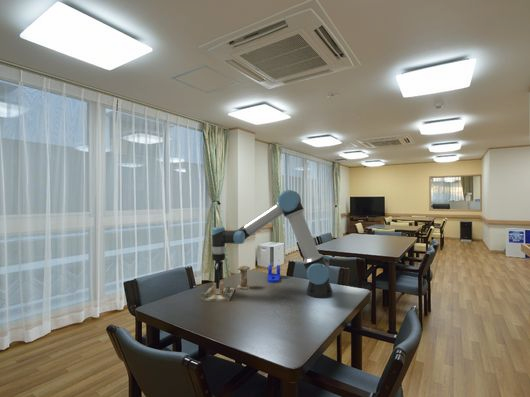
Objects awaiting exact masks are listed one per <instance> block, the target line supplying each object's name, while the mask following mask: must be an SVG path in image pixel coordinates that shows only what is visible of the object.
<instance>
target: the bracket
mask: <svg viewBox="0 0 530 397" xmlns="http://www.w3.org/2000/svg"><path fill="white" fill-rule="evenodd" d="M272 267H273V266H272V264H270V265H268V267H267V268H268V269H267V270H268V271H267V273H268V274H267V278H266V279H267V280H266V282H267V283H271V284H276V283H277V284H278V283H280V279H281V265H280V264H279V265H276V273H273V268H272Z"/></svg>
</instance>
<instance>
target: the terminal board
mask: <svg viewBox="0 0 530 397" xmlns="http://www.w3.org/2000/svg"><path fill="white" fill-rule="evenodd" d="M235 291H236V287H231V285H230V284H227V286H226V287H223V293H222V294H213V285H212V286H211V287H209V288H208V290H206V292H201V298H200V300H201V302H202V301H203V302H204V301H205V302H206V301H207V302H215V301H216V302H230V300H231V298H232V296H233V294H234V292H235Z"/></svg>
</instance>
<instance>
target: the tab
mask: <svg viewBox="0 0 530 397" xmlns="http://www.w3.org/2000/svg"><path fill="white" fill-rule="evenodd" d="M212 286H213V294H216V285H215V283H214V282H213V284H212ZM223 288H224V281H222V282H221V281H220V294H222V293H223Z"/></svg>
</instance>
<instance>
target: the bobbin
mask: <svg viewBox="0 0 530 397" xmlns="http://www.w3.org/2000/svg"><path fill="white" fill-rule="evenodd" d="M236 268H237V271H239V275H240V276H239V277H240V278H239V280H240V281H239V282H240V283H239V285H237V289H238V290H249V289H250V287H251V286H250V284H248V271H249V270H250V269H251V267H250V266H247V265H242V266H240V265H239V266H238V267H236Z"/></svg>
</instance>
